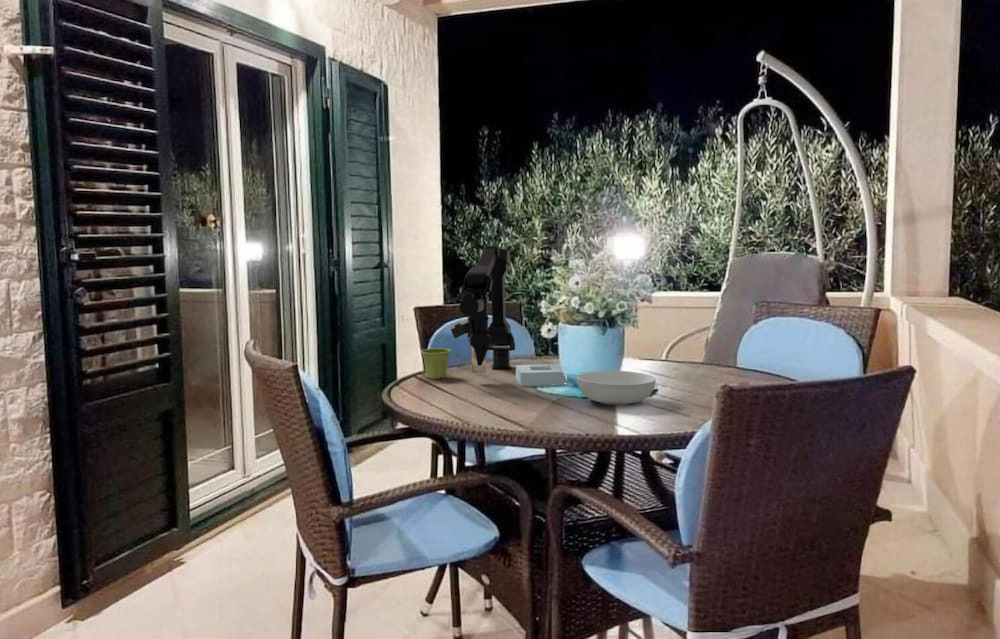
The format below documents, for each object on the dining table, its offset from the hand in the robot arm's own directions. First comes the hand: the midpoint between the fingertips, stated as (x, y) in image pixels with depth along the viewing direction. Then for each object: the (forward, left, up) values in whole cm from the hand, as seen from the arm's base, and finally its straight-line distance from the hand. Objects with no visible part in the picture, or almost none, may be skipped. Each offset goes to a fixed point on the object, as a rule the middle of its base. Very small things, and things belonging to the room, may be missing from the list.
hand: (479, 364), depth 242 cm
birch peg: (0, 0, -2) cm, 2 cm away
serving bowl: (+31, +35, -6) cm, 47 cm away
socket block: (-1, +19, -6) cm, 20 cm away
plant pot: (-12, -13, -6) cm, 19 cm away
